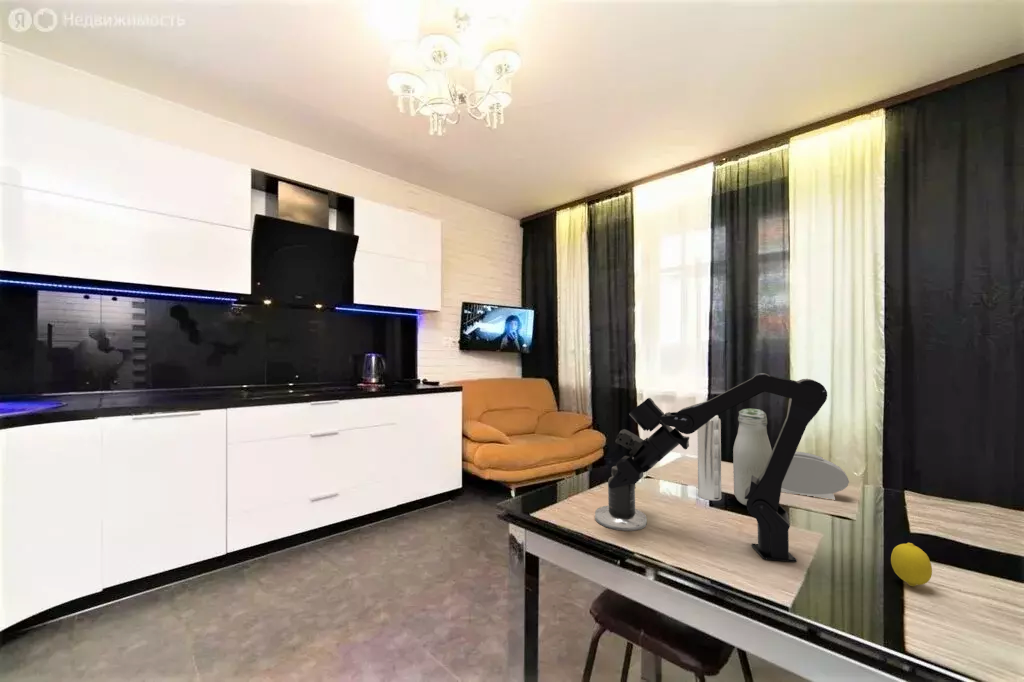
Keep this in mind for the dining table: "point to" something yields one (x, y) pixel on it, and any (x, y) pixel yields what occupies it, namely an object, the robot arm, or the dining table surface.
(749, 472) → the glass bottle
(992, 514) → the dining table surface
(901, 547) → the lemon
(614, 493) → the supplement bottle
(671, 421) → the robot arm
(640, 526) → the metal plate
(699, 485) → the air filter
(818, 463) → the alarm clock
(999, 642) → the dining table surface
